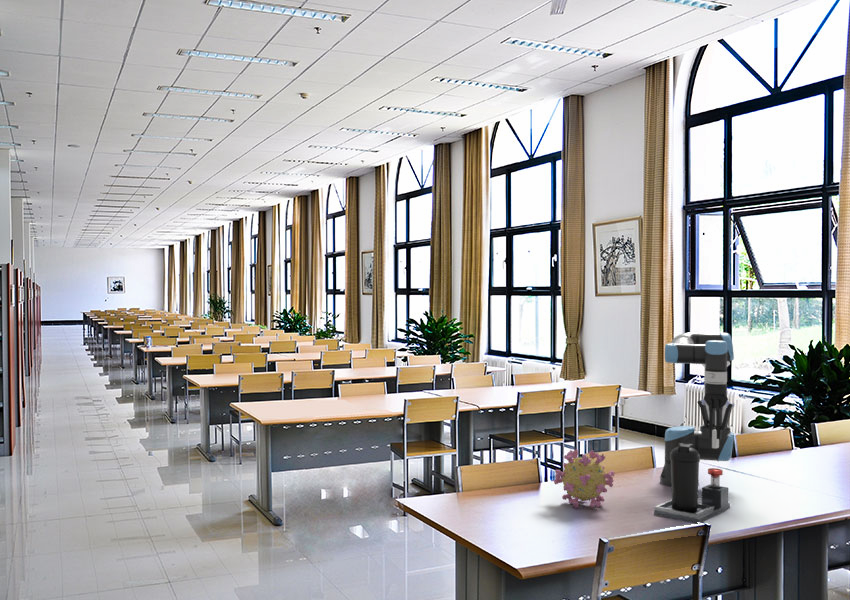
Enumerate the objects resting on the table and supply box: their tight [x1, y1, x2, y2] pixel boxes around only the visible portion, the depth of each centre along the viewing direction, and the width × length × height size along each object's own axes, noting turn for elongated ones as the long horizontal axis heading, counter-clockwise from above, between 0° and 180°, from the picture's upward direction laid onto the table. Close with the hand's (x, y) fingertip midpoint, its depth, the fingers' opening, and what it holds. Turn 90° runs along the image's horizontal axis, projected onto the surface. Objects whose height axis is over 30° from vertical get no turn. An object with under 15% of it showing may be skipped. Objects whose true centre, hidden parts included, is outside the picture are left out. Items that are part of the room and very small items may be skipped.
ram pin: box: [707, 467, 724, 490], centre depth 279 cm, size 5×5×8 cm
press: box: [653, 483, 731, 524], centre depth 275 cm, size 16×28×8 cm, turn 138°
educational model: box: [552, 448, 616, 509], centre depth 281 cm, size 23×22×20 cm
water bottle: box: [670, 443, 701, 513], centre depth 271 cm, size 10×10×23 cm
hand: (715, 447), depth 278 cm, fingers closed
